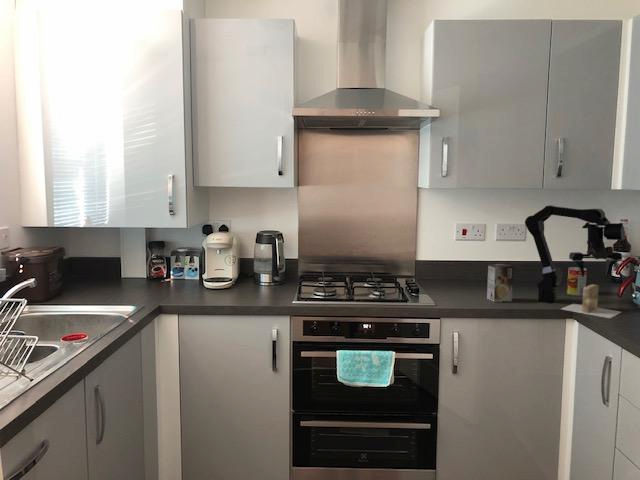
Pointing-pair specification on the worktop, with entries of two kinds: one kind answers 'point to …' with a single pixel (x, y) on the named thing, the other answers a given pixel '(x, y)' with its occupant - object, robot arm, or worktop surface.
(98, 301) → the worktop surface
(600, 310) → the mat
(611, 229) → the robot arm
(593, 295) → the plaque
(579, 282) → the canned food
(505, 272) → the coffee box
